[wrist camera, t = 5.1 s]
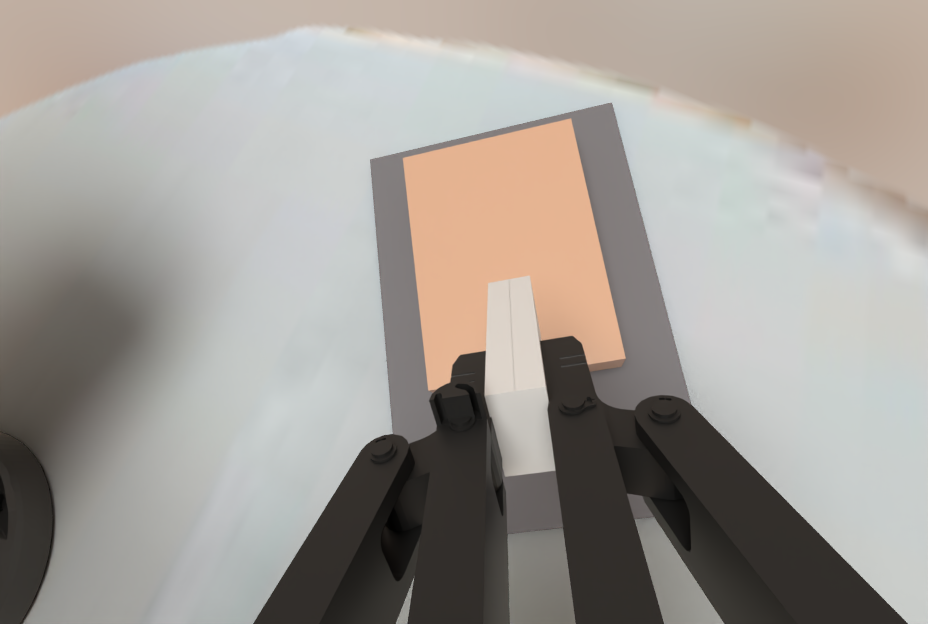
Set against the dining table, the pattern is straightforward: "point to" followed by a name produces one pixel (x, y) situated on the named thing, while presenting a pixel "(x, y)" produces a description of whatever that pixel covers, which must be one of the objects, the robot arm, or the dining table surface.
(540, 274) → the tile
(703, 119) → the dining table surface
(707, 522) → the robot arm
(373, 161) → the mat
